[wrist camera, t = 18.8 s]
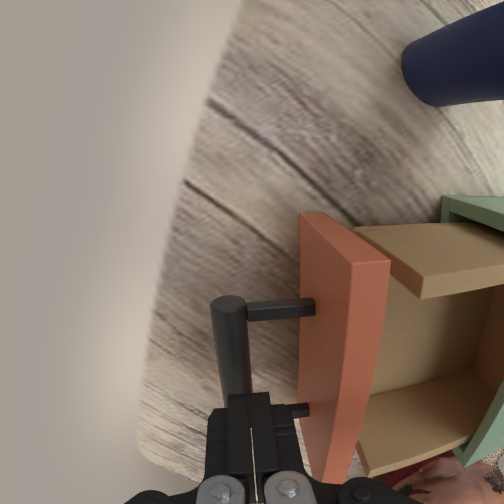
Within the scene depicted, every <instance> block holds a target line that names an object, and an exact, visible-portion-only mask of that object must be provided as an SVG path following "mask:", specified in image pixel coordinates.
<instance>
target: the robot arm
mask: <svg viewBox="0 0 504 504" xmlns="http://www.w3.org/2000/svg"><path fill="white" fill-rule="evenodd" d="M249 398H250V411H251V425H252V437H253V450H254V462H255V474H256V485H257V496H258V503H264V504H423V503H421V502H419V501H417V500H414V499H412V498H410V497H408V496H406V495H404V494H402V493H400V492H398V491H396V490H394V489H392V488H390V487H388V486H386V485H384V484H382V483H380V482H378V481H376V480H374V479H372V478H368V477H356V478H353V479H350V480H348V481H347V482H345V483H344V484H331V483H322V482H319V481H317V480H314V479H313V478H311V477H310V476H309V475H308V474H307V473H306V471H305V469H304V466H303V461H302V456H301V452H300V447H299V443H298V438H297V435H296V429H295V425H294V420H293V415H292V412H291V411H290V410H289V409H288V408H287V406H286V405H285V404H276V405H271V403H270V396H269V392H258V393H249ZM255 503H256V495H255V482H254V470H253V457H252V443H251V430H250V418H249V406H248V395H247V393H245V394H228V408H214V410H213V411H212V413H211V415H210V416H209V418H208V425H207V441H206V457H205V474H204V478H203V480H202V482H201V483H200V485H199V486H198V487H196V488H195V489H193V490H192V491H189V492H186V493H183V494H178V495H173V496H167V495H166V494H164V493H162V492H160V491H155V490H147V491H143V492H140V493H138V494H137V495H135V496H134V497H133V498H131V499H130V500H129V501H127V502H126V503H124V504H255Z"/></svg>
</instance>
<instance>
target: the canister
mask: <svg viewBox="0 0 504 504" xmlns="http://www.w3.org/2000/svg"><path fill="white" fill-rule="evenodd" d="M497 465H498V467H499V469H500V470H501V472H502V473H503V475H504V454H503V455H502V456H501V458H500V459H499V461H498V464H497Z"/></svg>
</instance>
